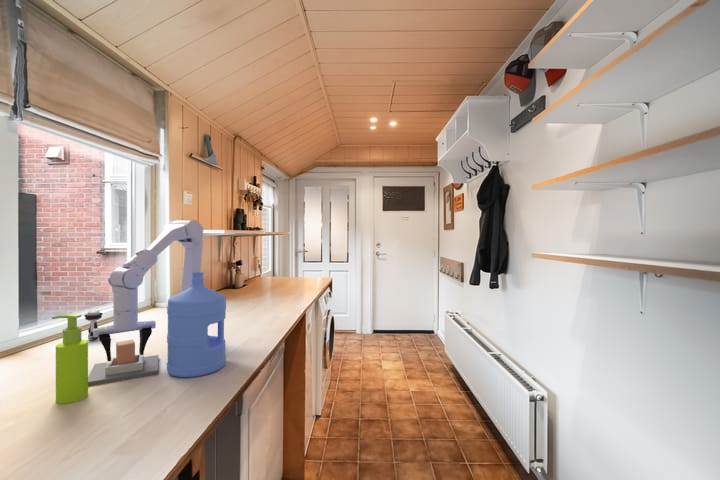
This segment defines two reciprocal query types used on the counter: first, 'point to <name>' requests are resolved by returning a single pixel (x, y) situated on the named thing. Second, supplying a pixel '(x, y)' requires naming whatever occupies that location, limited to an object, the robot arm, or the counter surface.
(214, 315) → the water jug
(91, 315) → the caster wheel
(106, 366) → the mounting socket
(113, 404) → the counter surface
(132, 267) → the robot arm
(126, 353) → the wooden peg
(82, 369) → the soap dispenser
